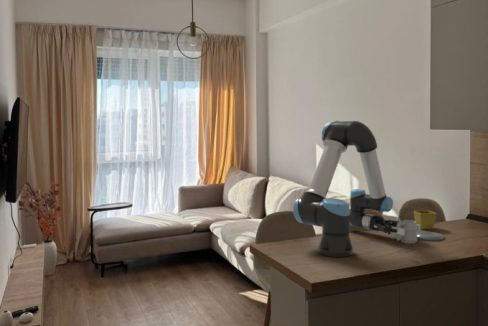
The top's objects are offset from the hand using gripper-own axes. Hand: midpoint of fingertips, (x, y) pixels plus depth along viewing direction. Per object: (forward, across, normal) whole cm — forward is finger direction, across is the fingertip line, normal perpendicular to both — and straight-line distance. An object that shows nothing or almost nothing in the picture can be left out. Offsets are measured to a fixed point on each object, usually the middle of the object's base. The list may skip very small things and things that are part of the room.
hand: (412, 229), depth 217 cm
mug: (-3, 0, -7) cm, 8 cm away
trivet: (-1, -16, -6) cm, 18 cm away
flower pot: (-12, -33, -7) cm, 35 cm away
